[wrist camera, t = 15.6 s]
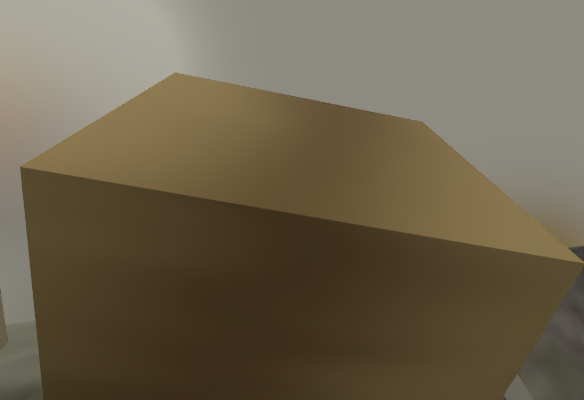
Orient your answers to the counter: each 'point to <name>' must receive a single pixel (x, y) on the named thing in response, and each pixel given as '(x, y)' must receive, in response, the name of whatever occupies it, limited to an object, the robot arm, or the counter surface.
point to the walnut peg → (278, 256)
